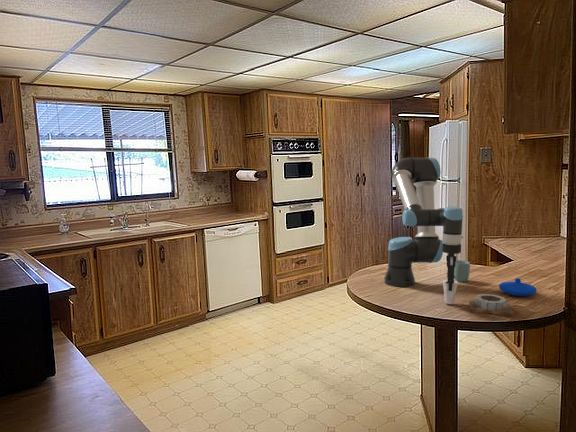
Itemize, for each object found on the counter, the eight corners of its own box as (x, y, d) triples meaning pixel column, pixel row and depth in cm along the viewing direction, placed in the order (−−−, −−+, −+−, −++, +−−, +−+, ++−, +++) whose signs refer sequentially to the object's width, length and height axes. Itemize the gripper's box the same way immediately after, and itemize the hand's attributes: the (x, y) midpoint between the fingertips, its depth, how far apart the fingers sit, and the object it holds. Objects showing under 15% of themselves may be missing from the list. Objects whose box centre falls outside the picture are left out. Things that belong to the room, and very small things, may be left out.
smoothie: (439, 300, 194) (440, 269, 192) (453, 299, 194) (454, 269, 192) (445, 305, 188) (446, 273, 186) (459, 304, 188) (461, 273, 186)
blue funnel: (515, 287, 215) (516, 273, 214) (544, 296, 200) (545, 281, 199) (491, 291, 210) (491, 276, 209) (518, 300, 195) (519, 285, 194)
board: (470, 311, 181) (470, 308, 181) (468, 302, 193) (469, 300, 192) (513, 315, 176) (513, 313, 176) (509, 306, 187) (509, 303, 187)
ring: (476, 309, 181) (476, 301, 180) (474, 300, 191) (474, 293, 191) (507, 312, 177) (507, 303, 176) (503, 303, 188) (504, 295, 187)
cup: (470, 283, 222) (471, 264, 221) (454, 282, 224) (455, 263, 223) (467, 279, 230) (468, 260, 229) (452, 278, 231) (452, 260, 230)
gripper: (462, 248, 177) (459, 303, 180) (460, 239, 195) (458, 289, 198) (442, 247, 179) (440, 301, 183) (442, 238, 197) (440, 287, 201)
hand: (449, 295), depth 190 cm, fingers closed on smoothie, 6 cm apart
